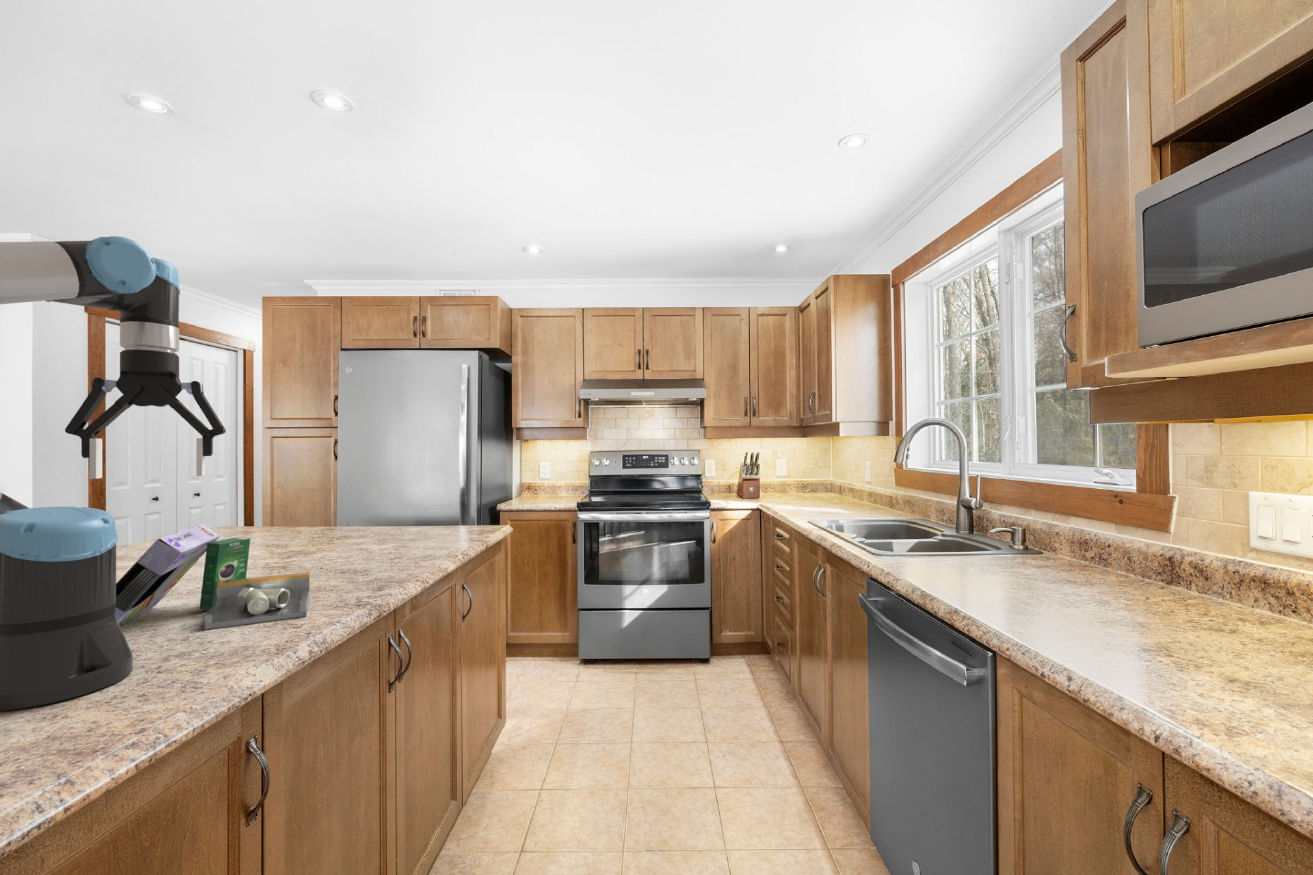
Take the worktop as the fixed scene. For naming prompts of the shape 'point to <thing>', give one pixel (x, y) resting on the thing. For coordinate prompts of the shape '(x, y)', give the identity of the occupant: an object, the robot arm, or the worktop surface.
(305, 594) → the grey tray
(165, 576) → the cake pan box
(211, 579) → the coffee box
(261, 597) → the pipe fitting
